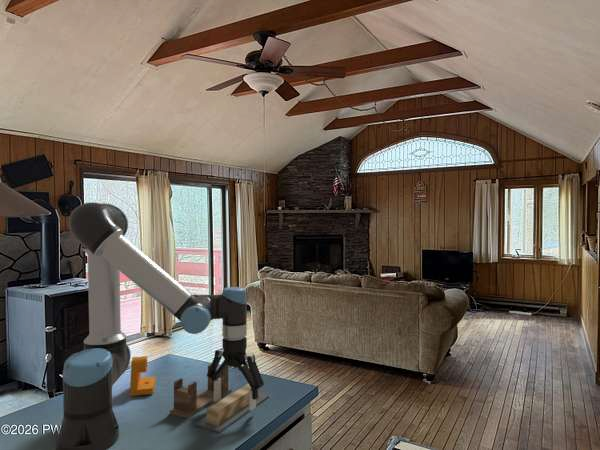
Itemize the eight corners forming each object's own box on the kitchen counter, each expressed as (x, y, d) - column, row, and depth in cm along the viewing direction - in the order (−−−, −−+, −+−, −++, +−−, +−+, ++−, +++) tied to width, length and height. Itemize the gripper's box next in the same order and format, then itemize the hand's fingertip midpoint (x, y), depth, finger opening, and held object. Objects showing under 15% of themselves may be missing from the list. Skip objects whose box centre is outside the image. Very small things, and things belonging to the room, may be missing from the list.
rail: (217, 425, 117) (217, 411, 117) (206, 422, 119) (206, 408, 119) (259, 396, 137) (259, 384, 137) (249, 394, 139) (249, 382, 139)
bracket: (186, 418, 123) (186, 387, 123) (169, 413, 126) (169, 382, 126) (231, 391, 142) (231, 364, 142) (215, 387, 145) (215, 361, 145)
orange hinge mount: (152, 396, 139) (152, 361, 138) (130, 398, 137) (130, 362, 137) (155, 383, 149) (155, 351, 149) (134, 385, 147) (134, 352, 147)
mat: (219, 433, 114) (219, 430, 114) (195, 425, 119) (195, 423, 119) (268, 397, 138) (268, 395, 138) (246, 392, 142) (246, 390, 142)
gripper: (274, 339, 125) (274, 407, 126) (211, 329, 137) (211, 392, 137) (261, 346, 119) (261, 418, 119) (195, 334, 130) (195, 400, 131)
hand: (234, 404), depth 128 cm, fingers open, 13 cm apart
